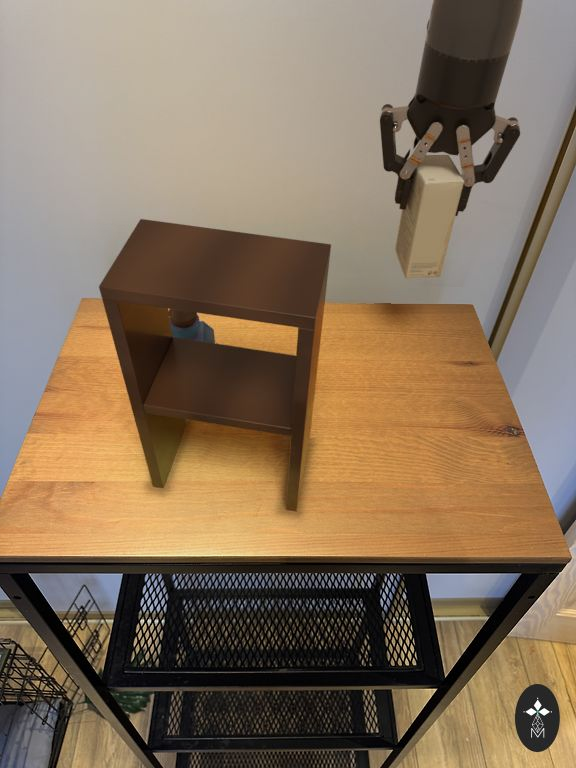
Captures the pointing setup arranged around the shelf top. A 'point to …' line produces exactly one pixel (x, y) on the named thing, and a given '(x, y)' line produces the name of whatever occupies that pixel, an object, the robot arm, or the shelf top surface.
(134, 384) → the walnut shelf
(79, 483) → the shelf top surface
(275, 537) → the shelf top surface
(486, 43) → the robot arm
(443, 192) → the cosmetic box
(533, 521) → the shelf top surface
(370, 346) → the shelf top surface
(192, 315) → the perfume bottle
